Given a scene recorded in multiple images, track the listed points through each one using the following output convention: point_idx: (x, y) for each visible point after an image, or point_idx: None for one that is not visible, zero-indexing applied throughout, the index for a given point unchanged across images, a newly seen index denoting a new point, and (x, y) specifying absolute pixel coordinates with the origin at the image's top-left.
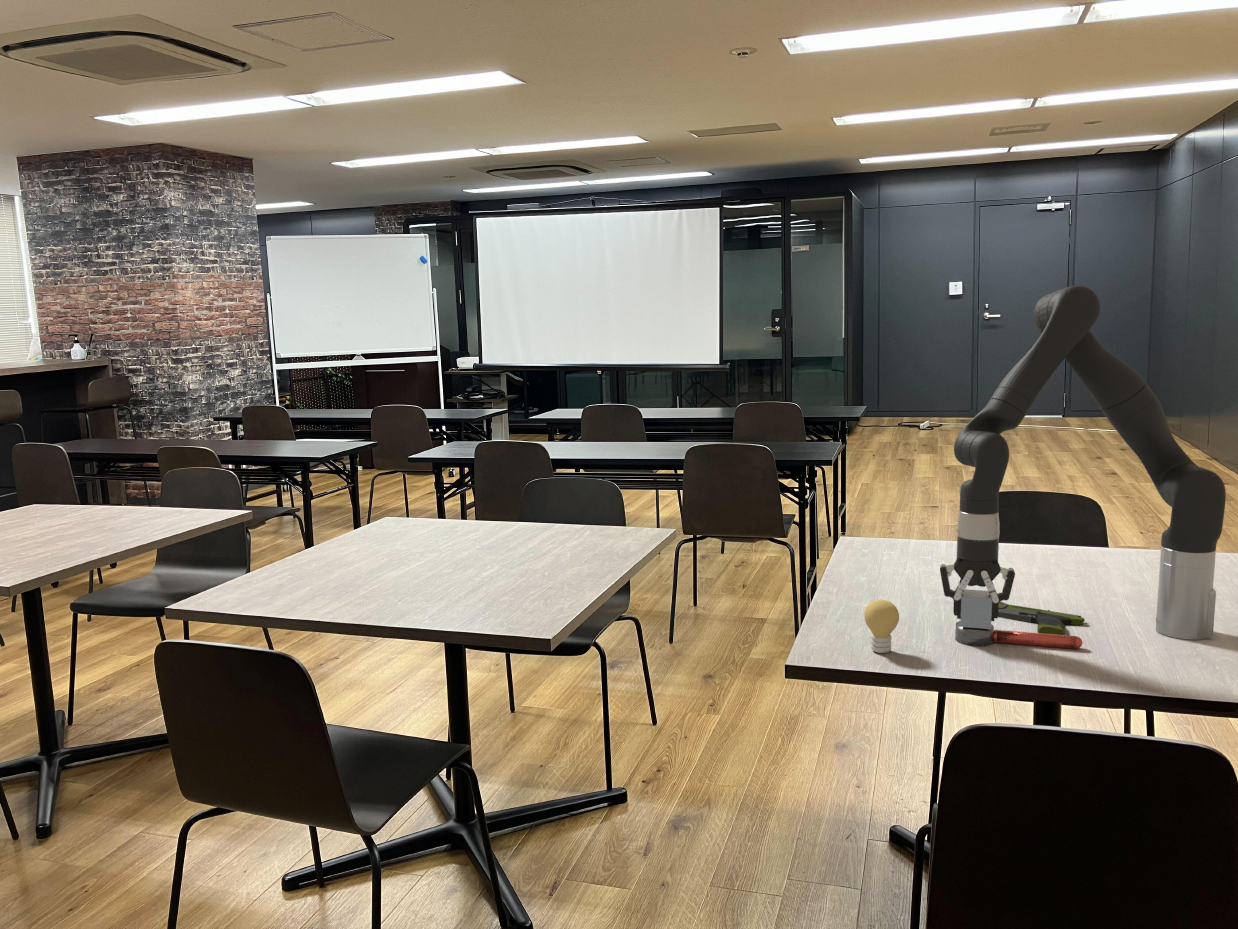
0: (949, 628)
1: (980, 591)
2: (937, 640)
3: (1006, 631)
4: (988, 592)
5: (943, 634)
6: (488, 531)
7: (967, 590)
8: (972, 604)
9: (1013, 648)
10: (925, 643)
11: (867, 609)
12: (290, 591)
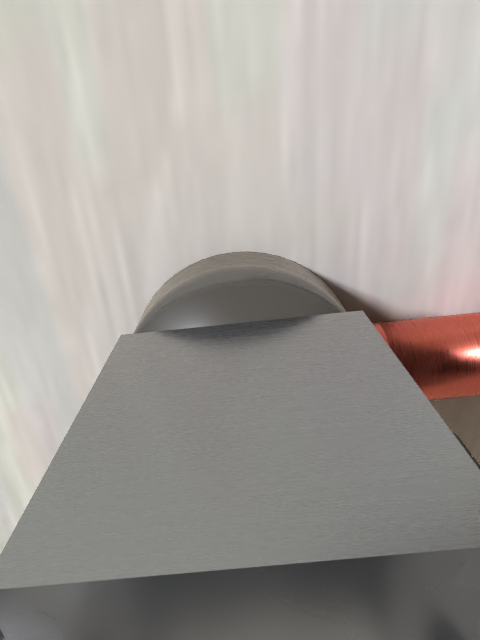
0: (53, 163)
1: (338, 618)
2: (53, 422)
3: (459, 387)
4: (472, 629)
5: (53, 311)
6: None
7: (113, 628)
8: None
9: (452, 408)
10: (12, 481)
11: None
12: None
